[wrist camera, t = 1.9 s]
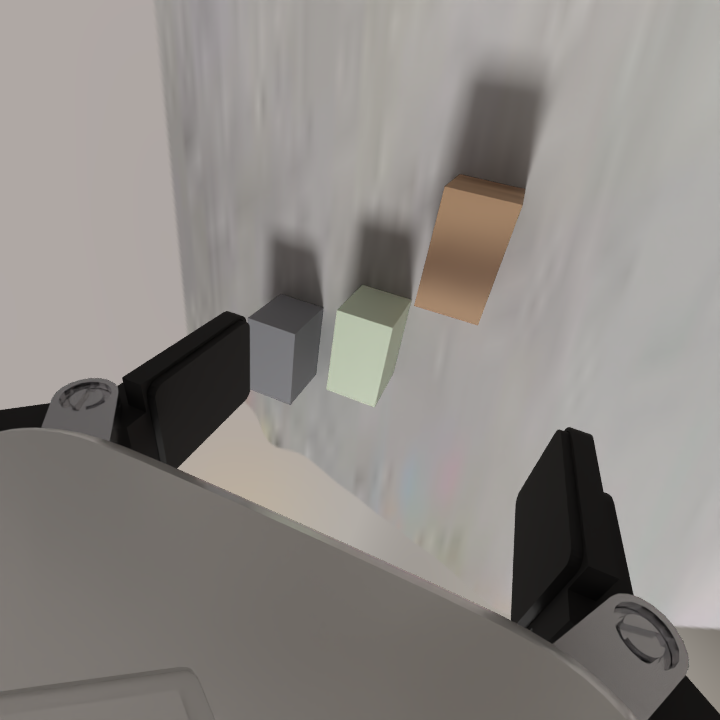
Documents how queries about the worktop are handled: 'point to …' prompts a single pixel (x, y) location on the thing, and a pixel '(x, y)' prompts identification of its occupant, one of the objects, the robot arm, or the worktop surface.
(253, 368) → the charcoal brick
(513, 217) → the walnut brick
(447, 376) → the worktop surface
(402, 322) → the sage brick
